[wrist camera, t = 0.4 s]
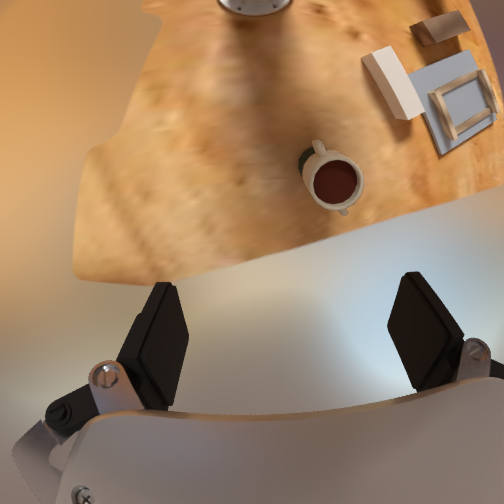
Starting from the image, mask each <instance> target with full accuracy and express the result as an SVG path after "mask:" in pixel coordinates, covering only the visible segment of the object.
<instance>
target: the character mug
mask: <svg viewBox="0 0 504 504" xmlns="http://www.w3.org/2000/svg"><path fill="white" fill-rule="evenodd" d="M312 145H313V147H312V148H309V149H308V150H306V151H305V152H303V154H302V156H301V157H300V159H299V166H298V168H299V171H300V173H301V176H302V177H303V181H304V184H305V186H306V188H307V189H308V191H309V192H310V194H311V195H312V197H313V198H314V200H315V202H316V203H317V204H319V205H320V206H322V207H323V208H325V209H328V210H333V211H339V212H340V214H341V215H342V216H346V215H347V214H348V211H347V208H348V207H350V206H351V205H353V204H355V202H356V201H357V200H358V198H359V197H360V196H361V193H362V190H363V187H364V178H363V174H362V171H361V169H360V168H359V167H358V165H357V164H356V163H354V162H353V161H352V160H350V159H349V158H348V157H347V156H345V155H343V154H341V153H339V152H338V151H335V150H327V149H325V147H324V144H323V143H322V142H321V141H320V140H318V139H314V140H313V141H312Z"/></svg>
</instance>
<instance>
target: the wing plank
mask: <svg viewBox="0 0 504 504" xmlns="http://www.w3.org/2000/svg"><path fill="white" fill-rule="evenodd" d="M361 59H362V61H363V62H364V64H365V66H366V67H367V69H368V70H369V72H370V74H371V75H372V77H373V79H374V80H375V82H376V84H377V86H378V87H379V89H380V91H381V93H382V94H383V96H384V98H385V100H386V102H387V104H388V106H389V108H390V110H391V112H392V114H393V116H394V118H395V119H402V120H410V119H412V118H414V117H415V116H417V115H419V114H421V113H423V112H425V110H424V108H423V105H422V103H421V101H420V99H419V97H418V95H417V93H416V91H415V89H414V87H413V85H412V83H411V81H410V79H409V77H408V75H407V73H406V72H405V70H404V68H403V66H402V64H401V63H400V61H399V59H398V58H397V56H396V54H395V53H394V51H393V49H392V48H391V46H388V47H385V48H382V49H380V50H378V51H375V52H373V53H370V54H368V55H366V56H364V57H362V58H361Z"/></svg>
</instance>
